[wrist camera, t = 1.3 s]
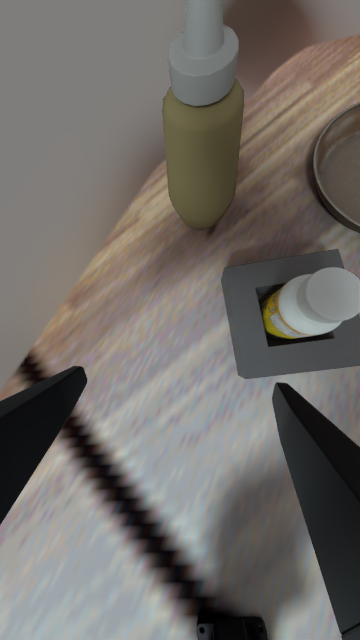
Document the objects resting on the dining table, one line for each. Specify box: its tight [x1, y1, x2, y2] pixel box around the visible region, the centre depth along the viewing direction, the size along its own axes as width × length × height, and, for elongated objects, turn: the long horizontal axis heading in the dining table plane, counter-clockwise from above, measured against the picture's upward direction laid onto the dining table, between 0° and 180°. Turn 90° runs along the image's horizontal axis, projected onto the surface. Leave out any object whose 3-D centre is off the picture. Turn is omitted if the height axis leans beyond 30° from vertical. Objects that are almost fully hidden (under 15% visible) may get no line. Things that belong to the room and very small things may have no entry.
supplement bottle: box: [260, 267, 360, 340], centre depth 18 cm, size 5×5×10 cm
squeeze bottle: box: [162, 0, 244, 229], centre depth 17 cm, size 8×8×18 cm
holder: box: [221, 249, 360, 379], centre depth 21 cm, size 12×12×4 cm
